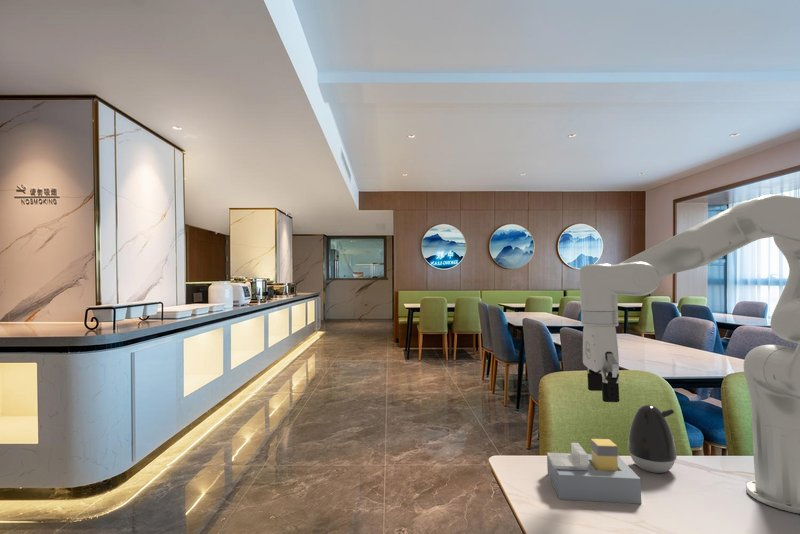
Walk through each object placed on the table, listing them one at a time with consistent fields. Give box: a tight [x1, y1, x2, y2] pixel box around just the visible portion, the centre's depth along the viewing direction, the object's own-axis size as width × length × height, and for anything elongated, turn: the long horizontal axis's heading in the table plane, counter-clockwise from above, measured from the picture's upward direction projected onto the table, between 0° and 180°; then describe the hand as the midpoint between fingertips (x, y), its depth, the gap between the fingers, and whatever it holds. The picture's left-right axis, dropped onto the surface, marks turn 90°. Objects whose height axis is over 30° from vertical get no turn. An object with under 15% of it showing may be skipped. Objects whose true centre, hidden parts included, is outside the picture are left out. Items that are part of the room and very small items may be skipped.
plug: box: [590, 438, 619, 471], centre depth 92 cm, size 4×4×10 cm
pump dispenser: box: [627, 404, 677, 474], centre depth 102 cm, size 10×10×15 cm
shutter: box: [546, 442, 588, 471], centre depth 93 cm, size 7×7×3 cm
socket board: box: [546, 452, 642, 505], centre depth 92 cm, size 16×12×5 cm
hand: (602, 395), depth 93 cm, fingers open, 9 cm apart
